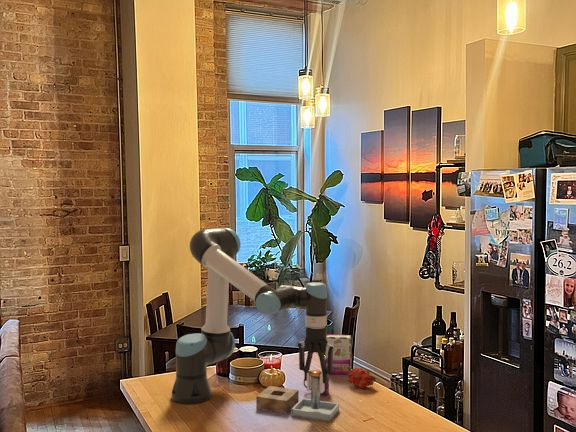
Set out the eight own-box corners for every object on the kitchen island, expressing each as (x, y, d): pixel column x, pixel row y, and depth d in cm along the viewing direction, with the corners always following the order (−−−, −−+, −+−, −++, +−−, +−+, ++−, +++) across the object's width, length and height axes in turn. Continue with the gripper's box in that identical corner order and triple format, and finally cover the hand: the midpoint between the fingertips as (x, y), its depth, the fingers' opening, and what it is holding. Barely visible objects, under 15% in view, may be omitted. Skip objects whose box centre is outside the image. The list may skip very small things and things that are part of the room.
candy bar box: (351, 371, 254) (351, 335, 254) (350, 375, 249) (351, 337, 249) (326, 370, 256) (326, 333, 255) (324, 373, 251) (325, 336, 250)
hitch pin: (307, 408, 206) (307, 373, 205) (311, 404, 210) (311, 369, 209) (319, 410, 204) (319, 374, 203) (323, 406, 208) (323, 370, 208)
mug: (327, 396, 224) (327, 379, 223) (302, 394, 226) (302, 377, 226) (330, 390, 230) (330, 374, 230) (305, 388, 232) (305, 372, 232)
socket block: (256, 408, 211) (256, 396, 211) (269, 397, 222) (269, 385, 222) (286, 413, 207) (286, 400, 207) (298, 401, 218) (298, 390, 218)
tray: (291, 415, 204) (291, 409, 204) (302, 404, 215) (302, 398, 215) (329, 422, 199) (329, 414, 199) (338, 410, 210) (338, 403, 210)
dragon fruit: (345, 388, 238) (373, 396, 234) (342, 381, 231) (371, 390, 227) (351, 368, 242) (379, 376, 238) (348, 361, 235) (377, 369, 231)
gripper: (289, 326, 205) (289, 390, 206) (336, 331, 199) (335, 397, 200) (297, 321, 212) (296, 384, 213) (342, 326, 206) (341, 390, 207)
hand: (315, 390), depth 207 cm, fingers closed on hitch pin, 4 cm apart
